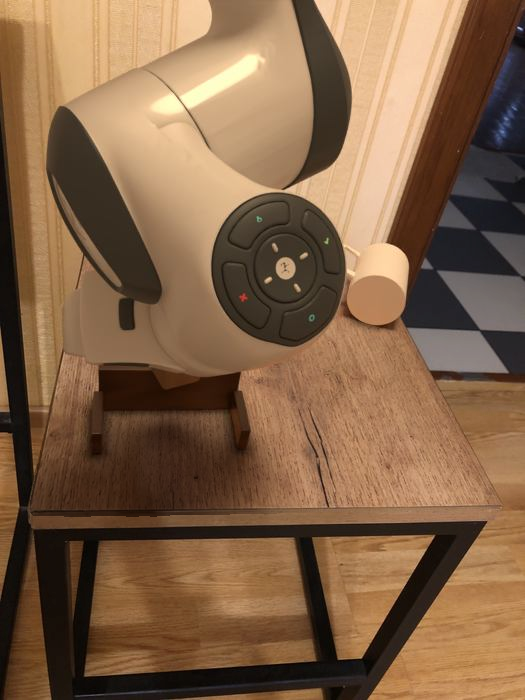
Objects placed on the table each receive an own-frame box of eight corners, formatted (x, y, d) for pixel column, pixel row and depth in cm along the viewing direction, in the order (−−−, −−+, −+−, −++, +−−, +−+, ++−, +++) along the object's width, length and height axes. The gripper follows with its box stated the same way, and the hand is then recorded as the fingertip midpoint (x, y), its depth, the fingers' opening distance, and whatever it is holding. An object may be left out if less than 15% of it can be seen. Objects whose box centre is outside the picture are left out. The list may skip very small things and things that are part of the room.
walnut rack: (91, 453, 59) (90, 412, 55) (94, 403, 64) (93, 363, 60) (246, 449, 62) (255, 410, 59) (237, 402, 68) (244, 364, 64)
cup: (313, 293, 84) (324, 261, 92) (383, 334, 85) (389, 299, 93) (343, 250, 79) (352, 220, 86) (417, 294, 80) (420, 260, 88)
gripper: (338, 272, 45) (278, 300, 58) (58, 270, 39) (62, 302, 52) (343, 353, 45) (281, 363, 58) (61, 364, 38) (64, 373, 51)
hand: (176, 334), depth 55 cm, fingers closed on wooden block, 4 cm apart
